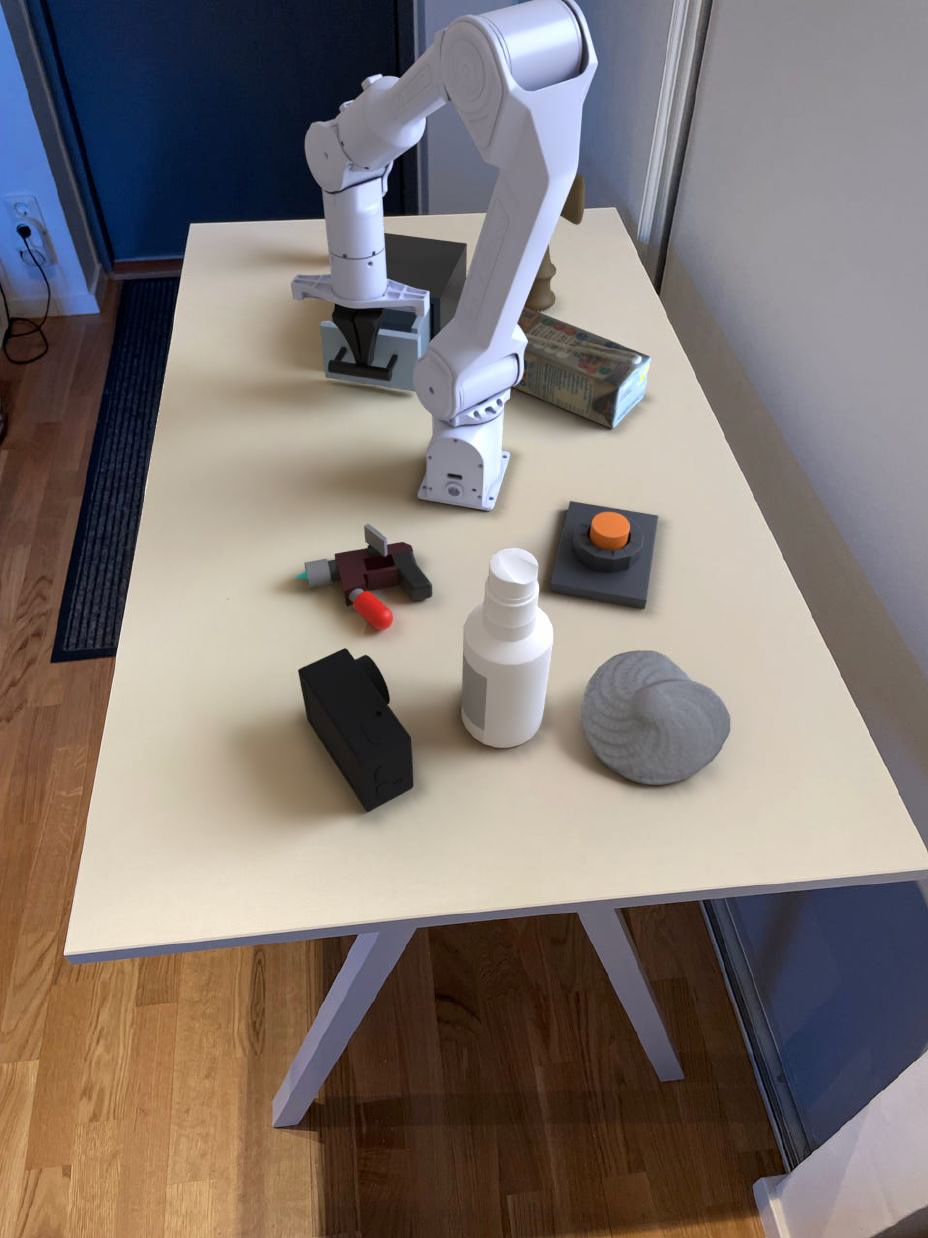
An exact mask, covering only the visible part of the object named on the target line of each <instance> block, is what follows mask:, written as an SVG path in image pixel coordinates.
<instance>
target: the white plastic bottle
mask: <svg viewBox="0 0 928 1238" xmlns="http://www.w3.org/2000/svg"><path fill="white" fill-rule="evenodd" d="M538 572H539V563H538V561H537V558H536V557H535V556H534V555H533V554H532V553H531V552H529V551H527V550H525V549H522V548H518V547H508V548H504V549H501V550H497V552H495V553H494V554H493V555H492V556H491V557H490V560H489V562H488V576H487V577H486V580H485V582H484V594H483V595H484V597H483V598H484V599H483V602H482V603H480V604H478V605H476V607H474V609H472V610H471V611H470V612H469V613H468V614H467V617H466V620H465V622H464V624H463V628H462V629H463V631H462V633H463V635H462V641H463V642H462V673H461V674H462V675H461V676H462V677H461V678H462V679H461V721H462V723H463V725H464V728H465V729H466V731H467V732H468V733H469V734H470V735H471V736H472V738H474V739H475V740H476V741H478V742H480V743H482V744H483V745H485V746H486V745H487V746H489V747H492V748H501V749H502V748H503V749H504V748H507V749H509V748H513V747H517V746H521V745H522V744H524V743H526V742H527V741H529V740H531V739H532V738H533V737H534V736H535V735H536V733H537V732H538V731H539V729H540V727H541V724H542V721H543V717H544V711H545V703H546V695H547V688H548V681H549V674H550V667H551V659H552V653H553V646H554V626H553V625H552V622H551V621H550V618H549V616H548V615H547V614H546V613H545V612H544V611H543V610H542V609H541V608H540V607H539V604H538V603H539V594H540V584H539V582H538V574H539V573H538Z"/></svg>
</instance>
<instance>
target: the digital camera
mask: <svg viewBox="0 0 928 1238" xmlns="http://www.w3.org/2000/svg"><path fill="white" fill-rule="evenodd" d="M297 672H298V678H299V685H300V689H301V693H302V699H303V704H304V709H305V715H306V720H307V722H308V723H309V725H310V727H311V728H312V729H313V731H314V733H315V735H316V736H317V737H318V739H319V740H320V742H321V743H322V745H323V747H324V748H325V750H326V751H327V753H328V754H329V756H330V758H331V759H332V760H333V763H334V764H335V765H336V766H337V768H338V770H339V771H340V773H341V775H342V776H343V778H344V780H345V781H346V783H347V784H348V786H349V787H350V789H351V790H352V792H353V793H354V795H355V797H356V798H357V799H358V801H359V802H360V804H361V806H362V807H363V809H364V811H365V812H366V813H369V812H371V811H373V810H375V809H377V808H379V807H381V806H383V805H384V804H386V803H387V802H390V801H392V800H394V799H395V798H397V797H399V796H401V795H403V794H404V793H406V792H408V791H409V790H412V789H413V788H414V786H415V785H414V769H413V768H414V763H413V760H414V759H413V742H412V736H411V735H410V734H409V732H408V731H407V730H406V728H405V727H404V725H403V723H401V721H400V720H399V718H398V717H397V715H396V714H395V713H394V711H393V710H392V709H391V707H390V706H389V704H390V702H391V696H390V692H389V689H388V685H387V683H386V680H385V678H384V676H383V674H382V671H381V670H380V668H379V667H378V665H377V664H376V662H375V661H374V660H373V659H372V657H370V656H369V655H367V654H364V655H362V656H360V657H357V658H354V656H353V655H352V653H351V652H350V651H349V649H348V648H346V647H344V648H342V649H339V650H337V651H335V652H333V653H331V654H329V655H326V656H324V657H322V658H320V659H318V660H316V661H313V662H311V663H309V664H307V665H305V666H303V667H300V668H299V669H298V670H297Z"/></svg>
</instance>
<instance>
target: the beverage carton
mask: <svg viewBox="0 0 928 1238" xmlns="http://www.w3.org/2000/svg"><path fill="white" fill-rule="evenodd" d="M517 324H518V325H519V327H520V328H521V329H522V331H523V333H524V335H525V336H526V338H527V340H528V343H527V345H526V347H525V350H524V357H523V360H524V371H523V376H522V378H521V380H520V382H519V383H518V384H517V385H515V386H513V387H512V388H514V389H517V390H519V391H521V392H524V393H526V394H529V395H531V396H533V397H536V398H538V399H540V400H542V401H545V402H546V403H550V404H552V405H554V406H557V407H559V408H561V409H563V410H566V411H568V412H570V413H573V414H575V415H577V416H581V417H583V418H585V419H587V420H590V421H593V422H596V423H597V424H599V425H603V426H605V427H607V428H609V429H611V430H613V429H615V428H616V426H618V425H619V423H620V422H621V421H622V420H623V419H624V418H625V417H626V416H627V415H628V414H629V413H630V412H631V411H632V410H633V409H634V408H635V406H637V404H639V403H640V402H641V400H642V399H643V398H644V396H645V392H646V388H647V384H648V374H649V370H650V366H651V363H652V358H651V357H652V356H650V355H647V354H645V353H642V352H640V351H638V350H635V349H633V348H630V347H627V346H625V345H622V344H620V343H619V342H616V341H613V340H610V339H608V338H606V337H603V336H601V335H598V334H596V333H593V332H590V331H589V330H585V329H584V328H581V327H578V326H575V325H573V324H570V323H568V322H565V321H562V320H560V319H557V318H555V317H553V316H549V315H547V314H545V313H542V312H539V311H538V310H532V309H529V308H526V307H523V310H522V312H521V315H520V317H519V320H518V322H517Z"/></svg>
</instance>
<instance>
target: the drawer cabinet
mask: <svg viewBox="0 0 928 1238" xmlns="http://www.w3.org/2000/svg"><path fill="white" fill-rule="evenodd" d="M384 240H385V257H386V275H387V279H390V280H392V281H395V282H398V283H401V284H404V285H407V286H410V287H413V288H416V289H420V290H425V291H429V303H432V304H434V337H435V336H436V335H437V334H438V333H439V332H440V331H441V330H442V329H443V328H444V327H445V326H446V325H447V324H448V323H449V322H450V321H451V320H452V319H453V318H454V316H455V313H456V310H457V306H458V303H459V300H460V297H461V294H462V290H463V287H464V284H465V281H466V278H467V265H468V264H467V263H468V262H467V261H468V254H467V253H468V251H467V250H468V243H466V242H459V241H451V240H443V239H436V238H428V237H421V236H412V235H405V234H396V233H390V232H384Z"/></svg>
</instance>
